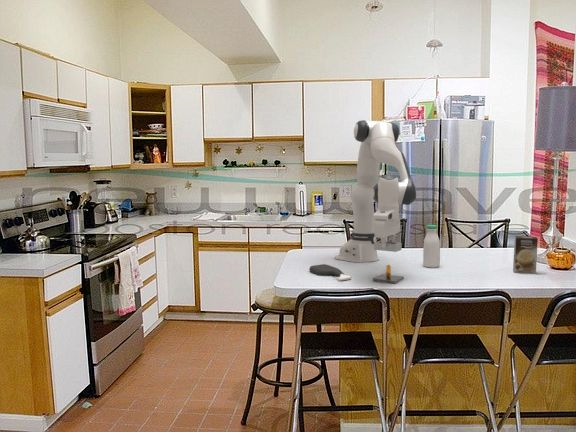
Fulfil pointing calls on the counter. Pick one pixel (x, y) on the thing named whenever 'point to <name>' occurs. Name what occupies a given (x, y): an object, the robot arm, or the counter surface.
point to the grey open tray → (388, 246)
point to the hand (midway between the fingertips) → (387, 245)
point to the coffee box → (525, 254)
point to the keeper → (388, 277)
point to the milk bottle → (431, 248)
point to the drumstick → (329, 272)
